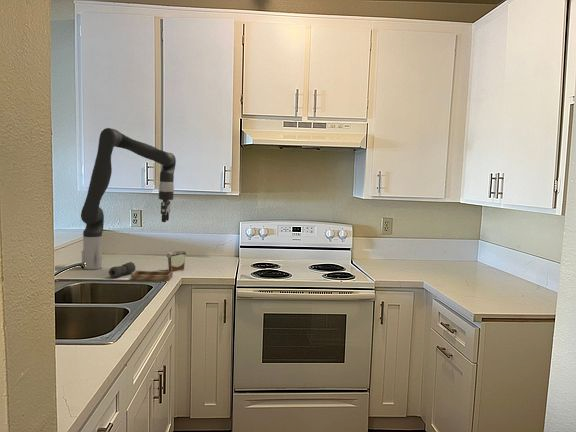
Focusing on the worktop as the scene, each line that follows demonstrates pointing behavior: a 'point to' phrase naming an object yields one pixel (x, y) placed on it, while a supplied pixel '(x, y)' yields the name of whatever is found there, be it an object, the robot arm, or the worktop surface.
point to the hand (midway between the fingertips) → (165, 221)
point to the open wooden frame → (152, 275)
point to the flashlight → (122, 269)
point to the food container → (176, 260)
